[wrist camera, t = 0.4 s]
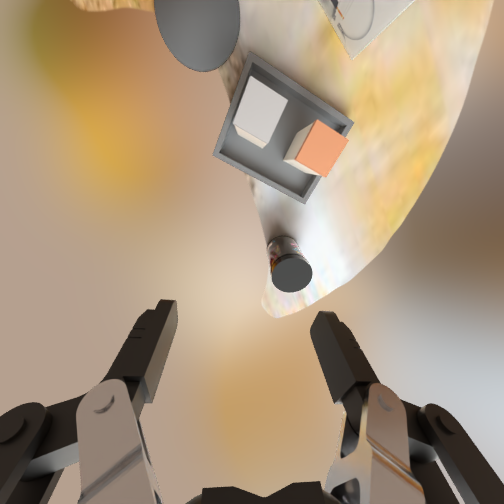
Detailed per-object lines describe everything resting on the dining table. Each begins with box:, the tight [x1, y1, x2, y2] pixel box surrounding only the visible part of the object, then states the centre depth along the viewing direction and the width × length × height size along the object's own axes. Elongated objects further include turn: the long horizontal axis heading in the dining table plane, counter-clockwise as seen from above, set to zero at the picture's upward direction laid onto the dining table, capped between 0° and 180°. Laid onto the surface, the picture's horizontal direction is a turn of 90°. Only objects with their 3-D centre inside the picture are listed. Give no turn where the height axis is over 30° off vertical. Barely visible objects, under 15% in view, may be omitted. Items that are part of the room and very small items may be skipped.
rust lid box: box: [283, 119, 349, 177], centre depth 27 cm, size 5×5×10 cm
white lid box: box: [233, 76, 288, 149], centre depth 25 cm, size 5×5×10 cm
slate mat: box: [154, 0, 240, 72], centre depth 24 cm, size 11×11×1 cm
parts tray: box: [213, 51, 354, 204], centre depth 30 cm, size 18×14×2 cm
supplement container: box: [267, 236, 312, 292], centre depth 35 cm, size 7×7×10 cm
